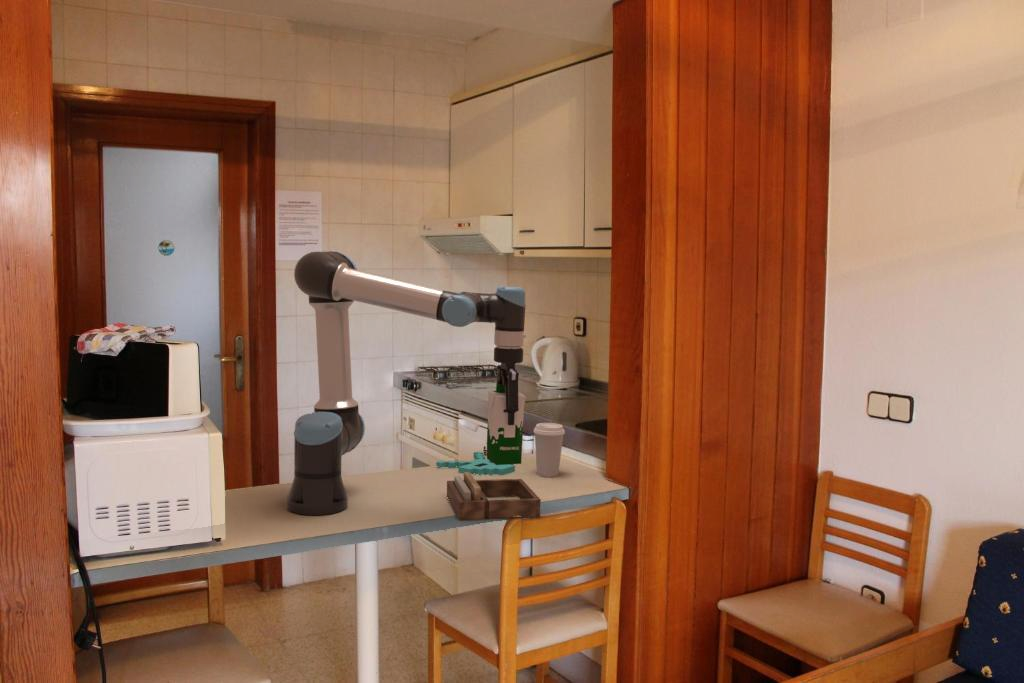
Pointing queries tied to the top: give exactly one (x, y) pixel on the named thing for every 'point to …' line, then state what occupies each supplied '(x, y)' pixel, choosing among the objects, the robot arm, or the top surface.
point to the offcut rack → (496, 508)
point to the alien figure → (478, 466)
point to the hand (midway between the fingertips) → (505, 433)
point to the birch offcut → (472, 486)
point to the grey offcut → (462, 488)
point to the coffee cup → (548, 448)
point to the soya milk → (497, 445)
